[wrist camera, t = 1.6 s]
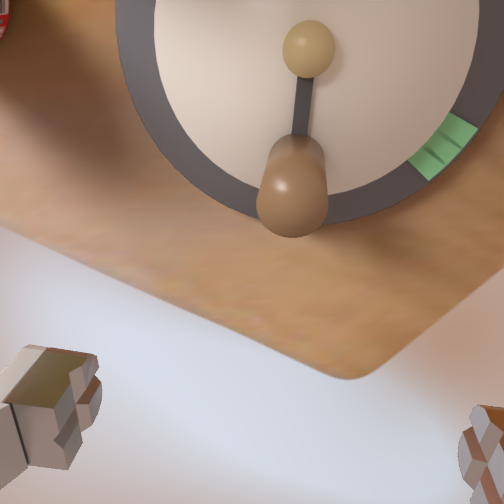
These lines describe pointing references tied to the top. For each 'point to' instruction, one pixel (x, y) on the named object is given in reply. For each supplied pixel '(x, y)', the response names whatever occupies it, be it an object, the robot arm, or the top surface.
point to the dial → (311, 90)
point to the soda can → (4, 15)
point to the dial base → (340, 204)
